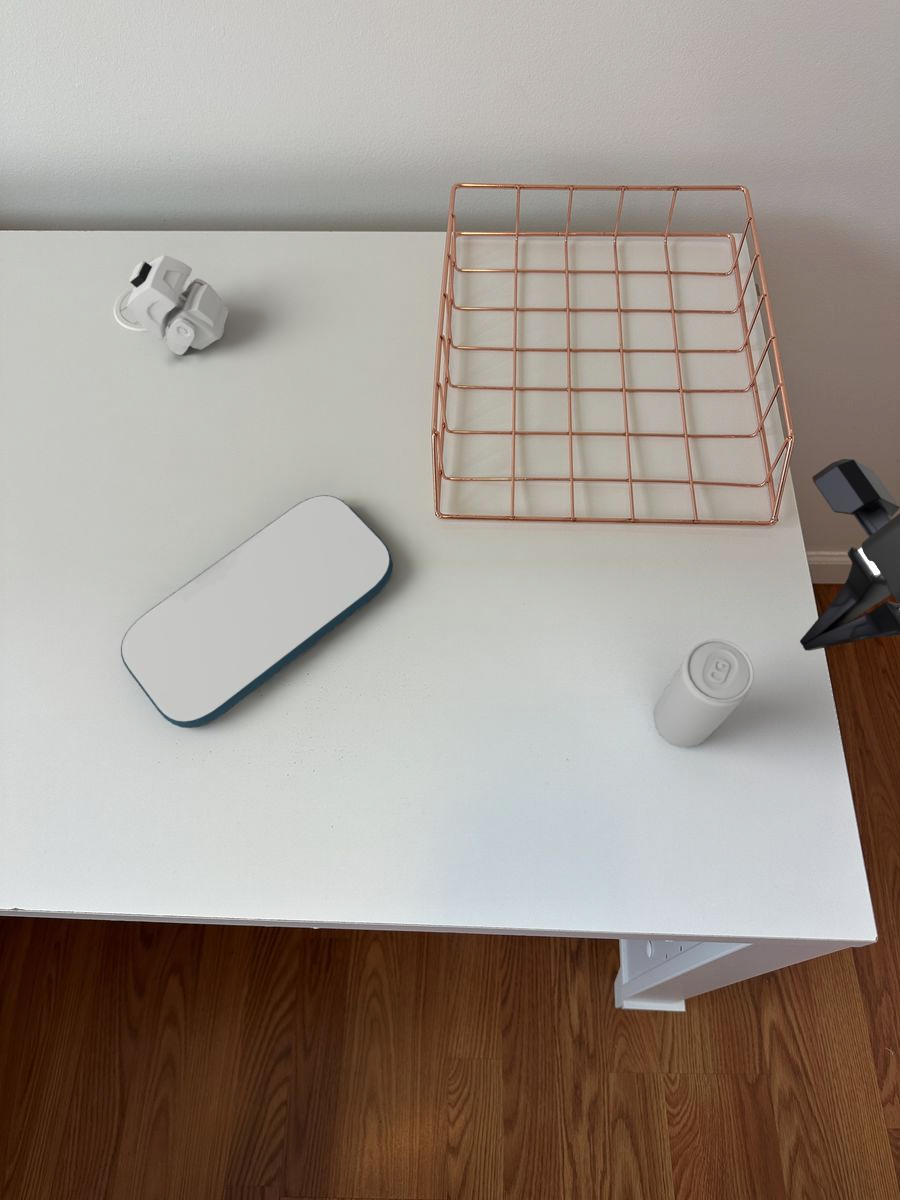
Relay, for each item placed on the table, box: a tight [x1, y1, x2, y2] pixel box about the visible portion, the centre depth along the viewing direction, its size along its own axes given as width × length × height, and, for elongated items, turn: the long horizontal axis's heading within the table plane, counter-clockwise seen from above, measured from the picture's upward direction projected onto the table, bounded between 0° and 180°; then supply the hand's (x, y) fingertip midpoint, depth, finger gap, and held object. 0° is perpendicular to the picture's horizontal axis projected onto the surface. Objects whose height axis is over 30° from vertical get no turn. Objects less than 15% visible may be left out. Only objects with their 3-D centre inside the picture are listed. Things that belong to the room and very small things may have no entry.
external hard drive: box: [120, 494, 394, 729], centre depth 72 cm, size 24×12×2 cm, turn 131°
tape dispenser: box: [126, 254, 230, 356], centre depth 83 cm, size 6×7×10 cm
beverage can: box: [653, 638, 754, 748], centre depth 62 cm, size 5×5×12 cm
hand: (804, 646), depth 60 cm, fingers closed
